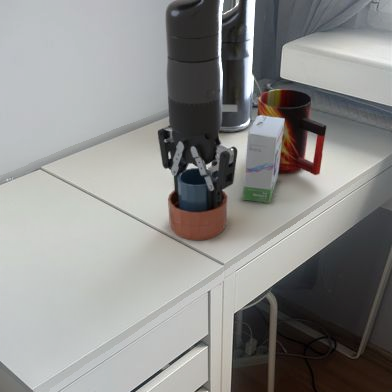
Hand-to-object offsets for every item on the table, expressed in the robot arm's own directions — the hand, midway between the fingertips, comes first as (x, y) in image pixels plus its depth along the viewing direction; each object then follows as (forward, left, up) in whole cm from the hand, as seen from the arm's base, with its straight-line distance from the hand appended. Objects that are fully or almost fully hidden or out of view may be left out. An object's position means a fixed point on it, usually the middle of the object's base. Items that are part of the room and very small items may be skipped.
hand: (197, 202), depth 81 cm
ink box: (-16, +1, -4) cm, 17 cm away
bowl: (0, 0, -4) cm, 4 cm away
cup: (0, 0, -4) cm, 4 cm away
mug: (-28, -1, -4) cm, 28 cm away
